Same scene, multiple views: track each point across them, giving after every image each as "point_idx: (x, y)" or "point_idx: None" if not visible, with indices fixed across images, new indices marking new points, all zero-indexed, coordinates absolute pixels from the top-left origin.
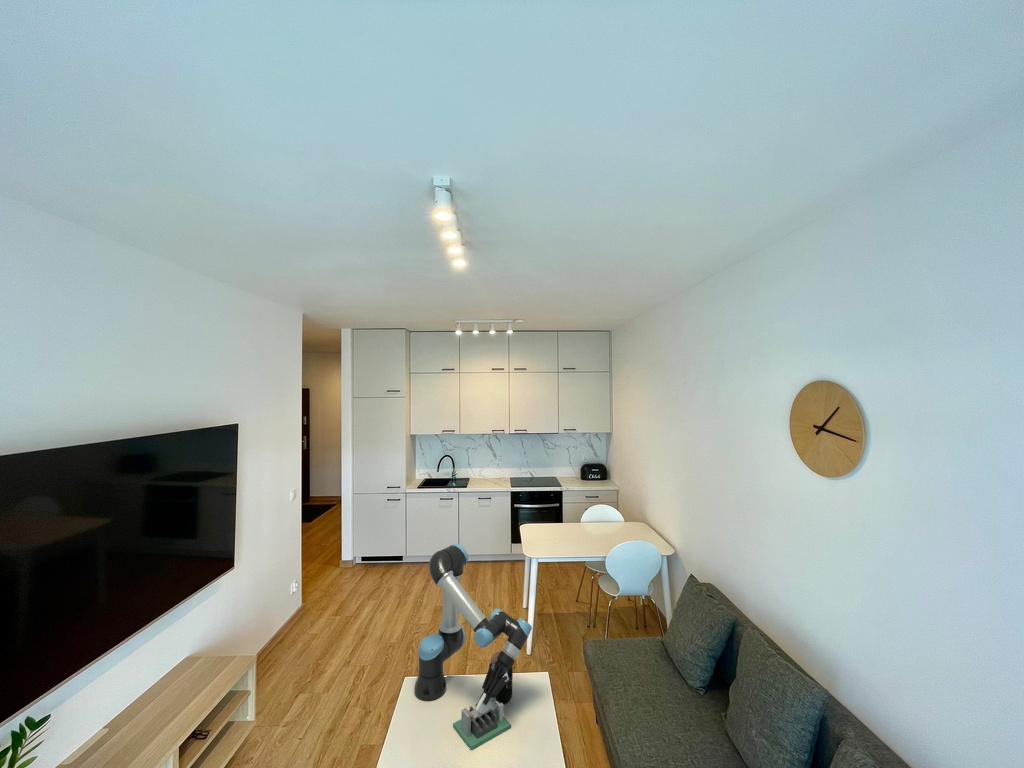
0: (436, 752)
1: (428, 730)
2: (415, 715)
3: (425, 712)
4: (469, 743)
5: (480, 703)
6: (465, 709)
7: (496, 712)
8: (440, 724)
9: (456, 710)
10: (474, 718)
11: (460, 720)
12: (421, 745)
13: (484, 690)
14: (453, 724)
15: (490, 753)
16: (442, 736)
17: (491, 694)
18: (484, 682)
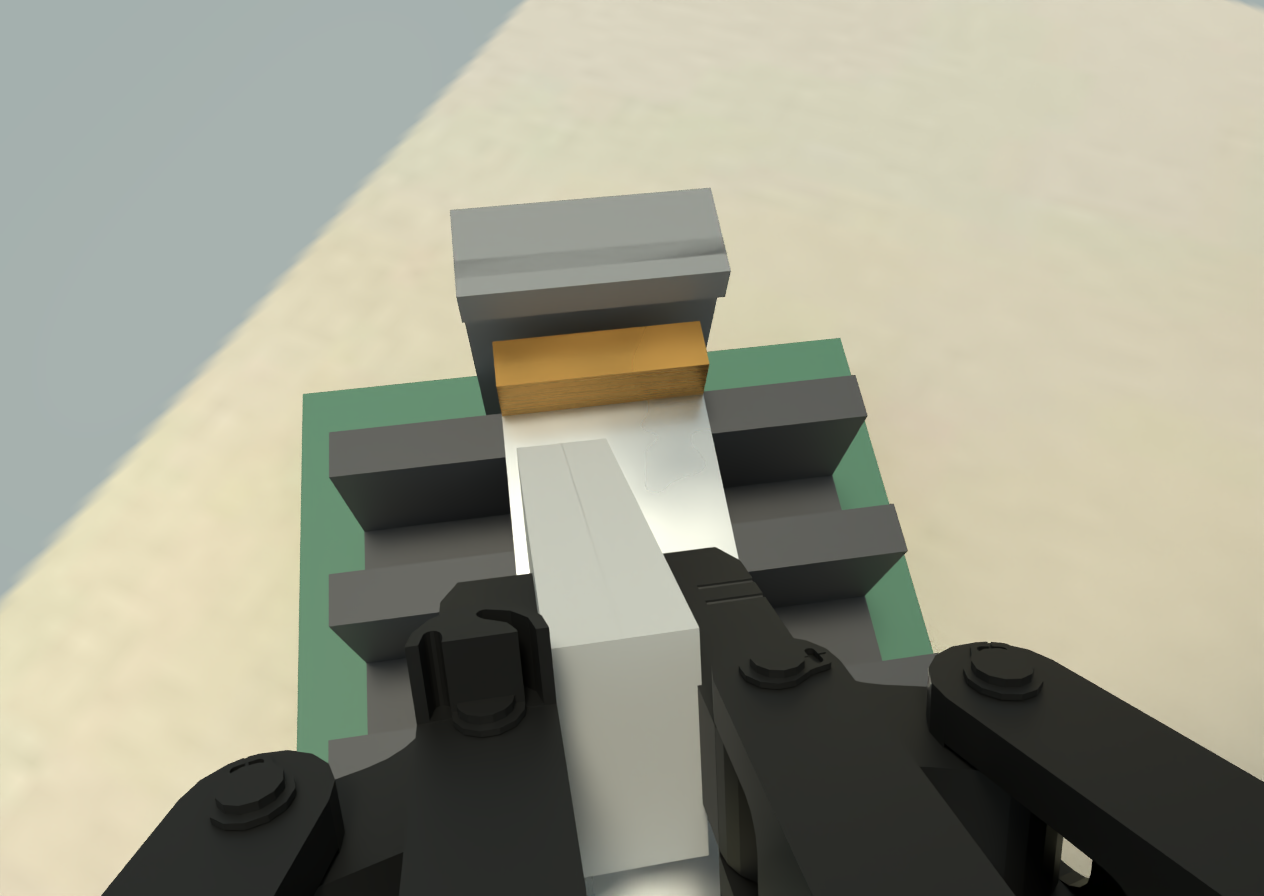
0: (537, 109)
1: (884, 128)
2: (1163, 83)
3: (1189, 175)
4: (372, 399)
5: (545, 502)
6: (685, 250)
7: None
8: (930, 255)
9: (1136, 515)
10: (504, 437)
11: (855, 445)
12: (704, 29)
13: (759, 657)
14: (824, 343)
15: (92, 646)
16: (728, 218)
17: (212, 806)
18: (1184, 783)
